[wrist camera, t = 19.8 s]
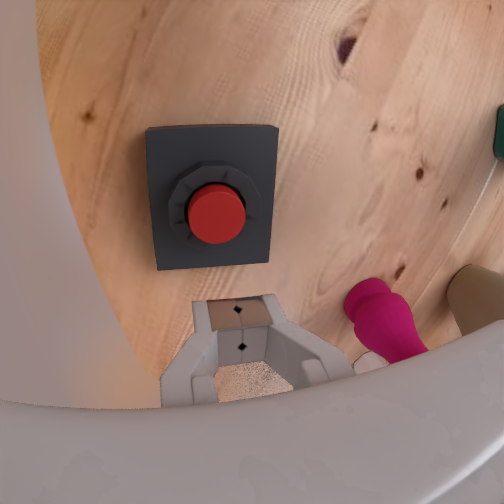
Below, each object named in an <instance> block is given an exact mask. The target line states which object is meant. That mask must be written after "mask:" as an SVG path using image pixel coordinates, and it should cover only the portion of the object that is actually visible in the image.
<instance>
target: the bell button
mask: <svg viewBox="0 0 504 504" xmlns="http://www.w3.org/2000/svg"><path fill="white" fill-rule="evenodd" d="M188 218H189V225H190V228H191V230H192V232H193V233H194V234H195V236H196V237H198V238H199V239H200V240H202V241H204V242H207V243H212V244H219V243H224V242H227V241H229V240H231V239H233V238H234V237H235V236H237V235H238V233H239V232H240V231H241V229H242V228H243V225H244V223H245V209H244V207H243V205H242V203H241V201H240V199H239V197H238V195H237V194H236V193H235V192H234V191H233V190H232V189H230V188H229V187H227V186H224V185H219V184H214V185H208V186H205V187H203V188H201V189H200V190H198V191H197V192H196V193H195V194H194V195H193V197H192V198H191V200H190V202H189V206H188Z"/></svg>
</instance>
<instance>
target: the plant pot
mask: <svg viewBox="0 0 504 504" xmlns="http://www.w3.org/2000/svg"><path fill="white" fill-rule="evenodd" d="M447 300H448V303H449V305H450V308H451V310H452V313H453V315H454V318H455V320H456V322H457V325H458V327H459V329H460V331H461V334H462V336H465V335H468V334H470V333H472V332H474V331H476V330H478V329H481V328H483V327H485V326H487V325H489V324H491V323H493V322H495V321H497V320H504V275H502V274H499V273H497V272H494V271H491V270H488V269H485V268H482V267H478V266H475V265H467V266H465V267H464V268H462V269H461V270H460V271H459V272H458V273H457V274H456V275H455V277H454V278H453V280H452V281H451V283H450V285H449V287H448V290H447Z"/></svg>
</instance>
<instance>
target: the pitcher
mask: <svg viewBox="0 0 504 504" xmlns="http://www.w3.org/2000/svg"><path fill="white" fill-rule="evenodd" d="M494 152H495V155H496V157H497V159H498V160H500V161H502V162H504V105H502V107H501V108H500V109H499V112H498V121H497V129H496V136H495V143H494Z"/></svg>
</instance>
